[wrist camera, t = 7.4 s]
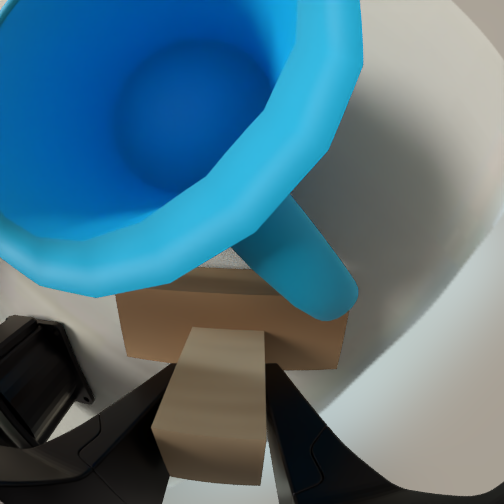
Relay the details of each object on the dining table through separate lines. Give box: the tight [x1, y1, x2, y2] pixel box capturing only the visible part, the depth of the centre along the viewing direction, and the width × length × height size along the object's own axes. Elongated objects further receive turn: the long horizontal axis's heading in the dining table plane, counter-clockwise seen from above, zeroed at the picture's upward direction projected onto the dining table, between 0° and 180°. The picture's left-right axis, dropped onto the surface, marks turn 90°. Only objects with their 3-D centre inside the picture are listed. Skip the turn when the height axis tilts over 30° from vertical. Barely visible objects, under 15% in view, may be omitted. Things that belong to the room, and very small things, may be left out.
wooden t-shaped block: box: [115, 267, 349, 486], centre depth 8 cm, size 4×8×7 cm, turn 88°
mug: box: [0, 0, 363, 321], centre depth 7 cm, size 12×8×8 cm
